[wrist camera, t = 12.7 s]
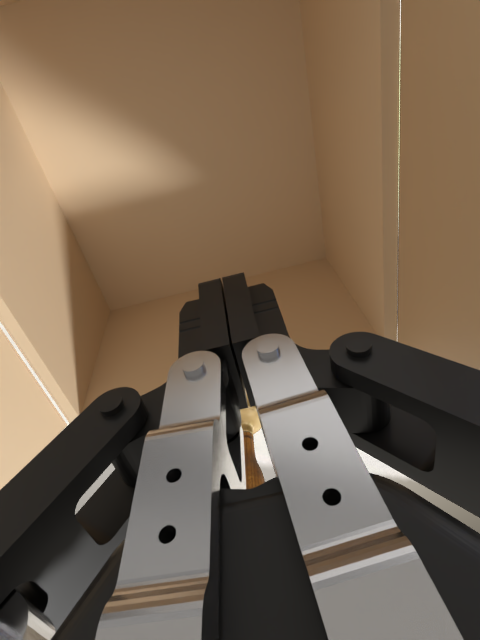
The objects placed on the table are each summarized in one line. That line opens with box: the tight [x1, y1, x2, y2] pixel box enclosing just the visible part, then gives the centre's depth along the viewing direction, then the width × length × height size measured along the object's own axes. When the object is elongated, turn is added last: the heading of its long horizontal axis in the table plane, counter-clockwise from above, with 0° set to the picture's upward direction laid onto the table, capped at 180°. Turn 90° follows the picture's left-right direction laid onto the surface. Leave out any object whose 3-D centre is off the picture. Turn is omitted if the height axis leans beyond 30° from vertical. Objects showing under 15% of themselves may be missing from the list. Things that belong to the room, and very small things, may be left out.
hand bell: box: [240, 394, 265, 489], centre depth 39 cm, size 8×8×16 cm
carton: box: [0, 0, 400, 423], centre depth 26 cm, size 22×25×14 cm
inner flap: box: [397, 0, 480, 370], centre depth 15 cm, size 10×23×1 cm
